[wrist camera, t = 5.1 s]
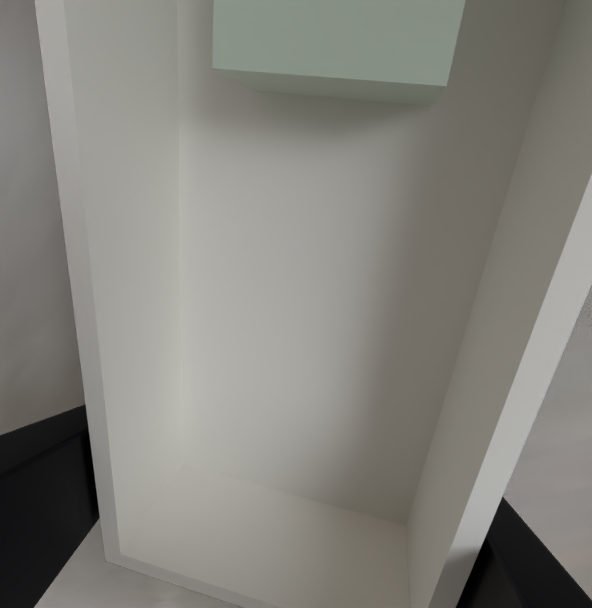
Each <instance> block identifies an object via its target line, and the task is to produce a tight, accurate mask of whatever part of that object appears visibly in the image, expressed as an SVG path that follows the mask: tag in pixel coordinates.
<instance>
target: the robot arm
mask: <svg viewBox="0 0 592 608" xmlns="http://www.w3.org/2000/svg"><path fill="white" fill-rule="evenodd" d="M99 518H100V515H99V507H98V499H97V491H96V483H95V475H94V467H93V459H92V452H91V444H90V436H89V428H88V420H87V412H86V404H85V405H83V406H80V407H77V408H74V409H72V410H69V411H66V412H63V413H61V414H58V415H55V416H52V417H50V418H47V419H44V420H41V421H39V422H36V423H33V424H30V425H27V426H25V427H22V428H19V429H16V430H14V431H11V432H8V433H5V434H3V435H0V608H34V607H35V605H36V604H37V603H38V601H39V600H40V598H41V597H42V596H43V594H44V593H45V592H46V590H47V589H48V587H49V586H50V585H51V583H52V582H53V581H54V579H55V578H56V576H57V575H58V574H59V572H60V571H61V570H62V568H63V567H64V566H65V564H66V563H67V561H68V560H69V559H70V557H71V556H72V555H73V553H74V552H75V550H76V549H77V548H78V546H79V545H80V544H81V542H82V541H83V539H84V538H85V537H86V535H87V534H88V533H89V531H90V530H91V529H92V527H93V526H94V524H95V523H96V522H97V520H98V519H99ZM456 608H592V600H591V599H590V598H589V597H588V595H587V594H586V593H585V592H584V591H583V590H582V588H581V587H580V586H579V585H578V584H577V583H576V581H575V580H574V579H573V578H572V577H571V576H570V574H569V573H568V572H567V571H566V570H565V569H564V567H563V566H562V565H561V564H560V563H559V562H558V560H557V559H556V558H555V557H554V556H553V555H552V553H551V552H550V551H549V550H548V549H547V548H546V546H545V545H544V544H543V543H542V542H541V541H540V539H539V538H538V537H537V536H536V535H535V534H534V532H533V531H532V530H531V529H530V528H529V527H528V525H527V524H526V523H525V522H524V521H523V520H522V518H521V517H520V516H519V515H518V514H517V513H516V511H515V510H514V509H513V508H512V507H511V506H510V504H509V503H508V502H507V501H506V500H505V499H504V497H503V496H502V499H501V501H500V503H499V506H498V508H497V511H496V513H495V515H494V518H493V520H492V522H491V525H490V527H489V530H488V532H487V534H486V537H485V539H484V541H483V544H482V546H481V549H480V551H479V553H478V556H477V558H476V560H475V563H474V565H473V568H472V570H471V572H470V575H469V577H468V579H467V582H466V584H465V587H464V589H463V591H462V594H461V596H460V598H459V601H458V603H457V606H456Z"/></svg>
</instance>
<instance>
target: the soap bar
mask: <svg viewBox="0 0 592 608" xmlns="http://www.w3.org/2000/svg"><path fill="white" fill-rule="evenodd" d="M465 1H466V0H214V4H213V59H212V68H213V69H215V70H216V71H218V72H220V73H222V74H224V75H226V76H228V77H230V78H232V79H233V80H235V81H237V82H239V83H241V84H243V85H245V86H247V87H249V88H250V89H252V90H254V91H257V92H268V93H280V94H292V95H303V96H315V97H327V98H338V99H350V100H362V101H373V102H385V103H396V104H408V105H420V106H432V105H433V104H434V102H435V101H436V100H437V98H438V97H439V96H440V94H441V93H442V92H443V90H444V89H445V88H446V86H447V82H448V77H449V73H450V68H451V64H452V59H453V55H454V50H455V46H456V41H457V37H458V32H459V28H460V23H461V19H462V14H463V10H464V5H465Z"/></svg>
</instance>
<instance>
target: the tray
mask: <svg viewBox="0 0 592 608" xmlns="http://www.w3.org/2000/svg"><path fill="white" fill-rule="evenodd" d="M34 1H35V9H36V17H37V25H38V33H39V41H40V49H41V57H42V65H43V72H44V80H45V88H46V96H47V104H48V112H49V120H50V128H51V136H52V144H53V151H54V159H55V167H56V175H57V183H58V191H59V199H60V207H61V215H62V223H63V230H64V238H65V246H66V254H67V262H68V270H69V278H70V286H71V294H72V301H73V309H74V317H75V325H76V333H77V341H78V349H79V357H80V365H81V373H82V380H83V388H84V396H85V404H86V412H87V420H88V428H89V436H90V444H91V452H92V459H93V467H94V475H95V483H96V491H97V499H98V507H99V515H100V523H101V531H102V538H103V546H104V554H105V561H106V562H109V563H112V564H115V565H118V566H121V567H124V568H127V569H130V570H133V571H136V572H139V573H142V574H145V575H148V576H151V577H154V578H157V579H159V580H162V581H165V582H168V583H171V584H174V585H177V586H180V587H183V588H186V589H189V590H192V591H195V592H198V593H201V594H204V595H207V596H210V597H213V598H216V599H219V600H222V601H225V602H228V603H231V604H234V605H237V606H240V607H243V608H456V606H457V603H458V601H459V598H460V596H461V594H462V591H463V589H464V587H465V584H466V582H467V579H468V577H469V575H470V572H471V570H472V568H473V565H474V563H475V560H476V558H477V556H478V553H479V551H480V549H481V546H482V544H483V541H484V539H485V537H486V534H487V532H488V530H489V527H490V525H491V522H492V520H493V518H494V515H495V513H496V511H497V508H498V506H499V503H500V501H501V499H502V496H503V494H504V492H505V489H506V487H507V484H508V482H509V480H510V477H511V475H512V473H513V470H514V468H515V465H516V463H517V461H518V458H519V456H520V454H521V451H522V449H523V446H524V444H525V442H526V439H527V437H528V435H529V432H530V430H531V427H532V425H533V423H534V420H535V418H536V416H537V413H538V411H539V408H540V406H541V404H542V401H543V399H544V397H545V394H546V392H547V389H548V387H549V385H550V382H551V380H552V378H553V375H554V373H555V370H556V368H557V366H558V363H559V361H560V359H561V356H562V354H563V351H564V349H565V347H566V344H567V342H568V340H569V337H570V335H571V332H572V330H573V328H574V325H575V323H576V321H577V318H578V316H579V313H580V311H581V309H582V306H583V304H584V302H585V299H586V297H587V294H588V292H589V290H590V287H591V285H592V0H466V1H465V5H464V10H463V14H462V19H461V23H460V28H459V32H458V37H457V41H456V46H455V50H454V55H453V59H452V64H451V68H450V73H449V77H448V82H447V86H446V88H445V89H444V90H443V92H442V93H441V94H440V96H439V97H438V98H437V100H436V101H435V102H434V104H433V105H432V106H420V105H408V104H396V103H385V102H373V101H362V100H350V99H338V98H327V97H315V96H303V95H292V94H280V93H268V92H257V91H254V90H252V89H250V88H249V87H247V86H245V85H243V84H241V83H239V82H237V81H235V80H233V79H232V78H230V77H228V76H226V75H224V74H222V73H220V72H218V71H216V70H215V69H213V68H212V59H213V4H214V0H34Z"/></svg>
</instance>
